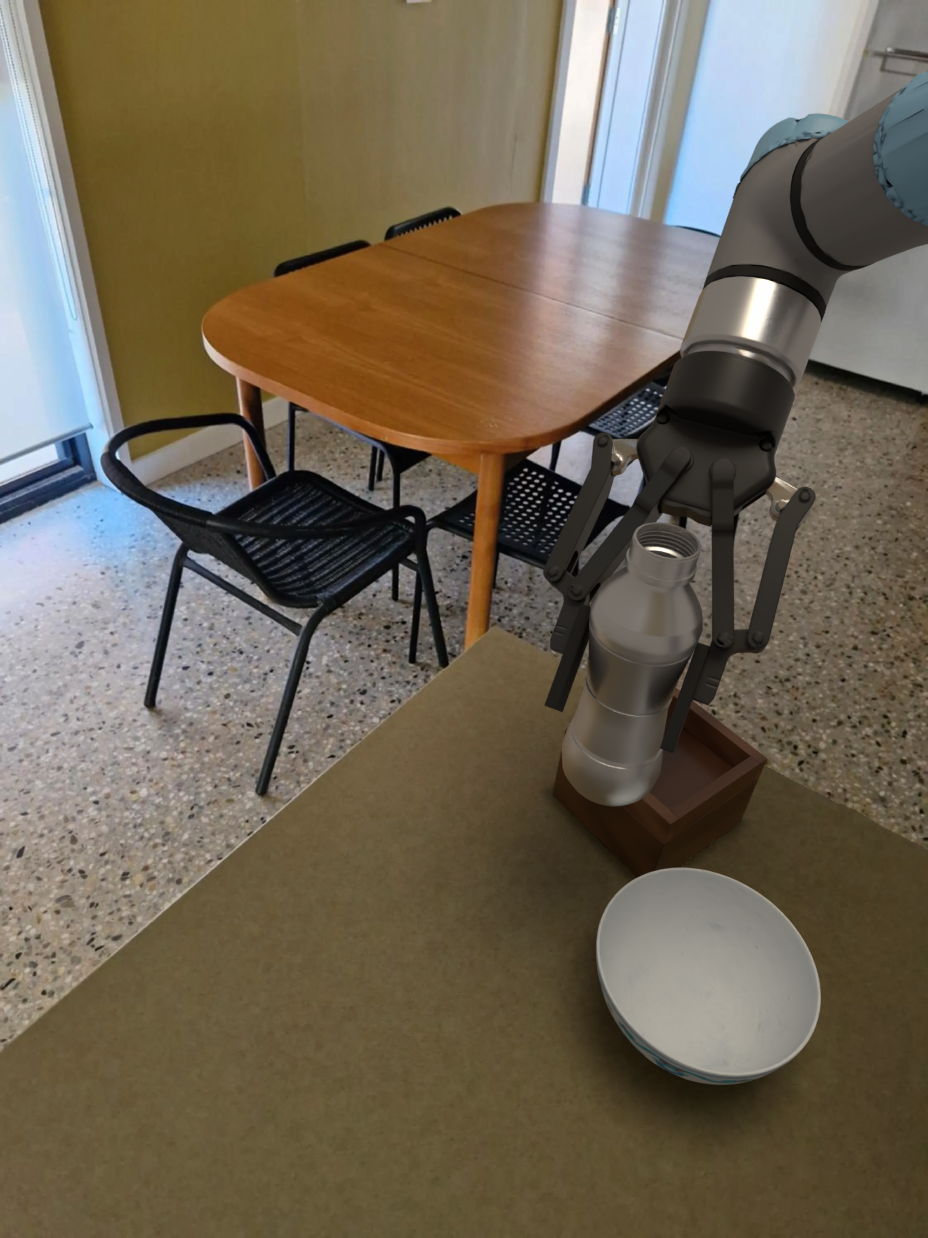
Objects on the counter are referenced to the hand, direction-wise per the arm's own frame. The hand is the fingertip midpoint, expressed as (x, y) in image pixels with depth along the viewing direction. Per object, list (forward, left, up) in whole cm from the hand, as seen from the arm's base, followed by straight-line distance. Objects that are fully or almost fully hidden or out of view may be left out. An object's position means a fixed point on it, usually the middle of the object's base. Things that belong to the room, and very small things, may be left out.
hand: (609, 729), depth 53 cm
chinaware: (-9, -4, -25) cm, 27 cm away
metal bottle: (+2, -3, -9) cm, 9 cm away
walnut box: (+6, -16, -25) cm, 30 cm away
